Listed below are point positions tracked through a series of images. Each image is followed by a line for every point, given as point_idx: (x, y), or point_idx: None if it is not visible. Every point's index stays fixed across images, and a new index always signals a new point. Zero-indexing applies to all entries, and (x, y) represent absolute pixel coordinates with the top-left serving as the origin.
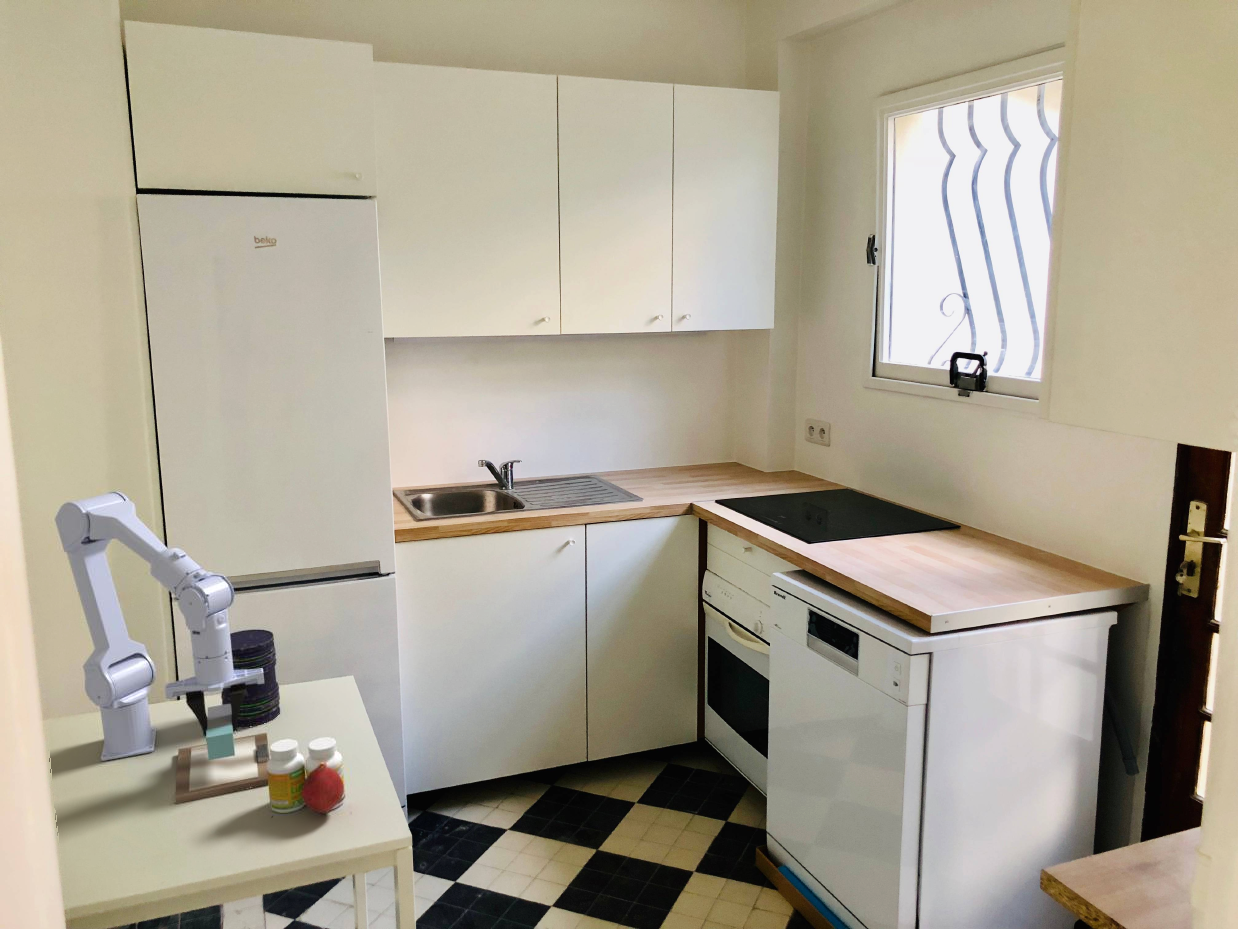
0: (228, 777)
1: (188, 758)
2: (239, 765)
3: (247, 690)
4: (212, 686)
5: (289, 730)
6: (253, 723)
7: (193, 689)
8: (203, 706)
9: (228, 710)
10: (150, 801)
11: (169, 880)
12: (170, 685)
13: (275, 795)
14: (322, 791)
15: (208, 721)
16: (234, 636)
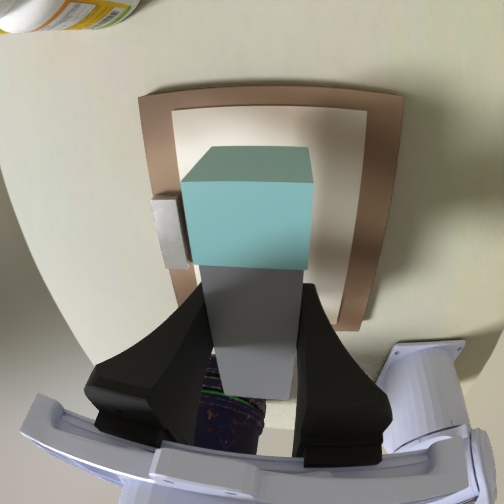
0: (254, 137)
1: (348, 288)
2: None
3: (206, 421)
4: (218, 493)
5: (149, 318)
6: (215, 360)
7: (351, 487)
8: (307, 382)
9: (226, 369)
10: (447, 145)
11: None
12: (436, 498)
13: None
14: None
15: (293, 335)
16: None
